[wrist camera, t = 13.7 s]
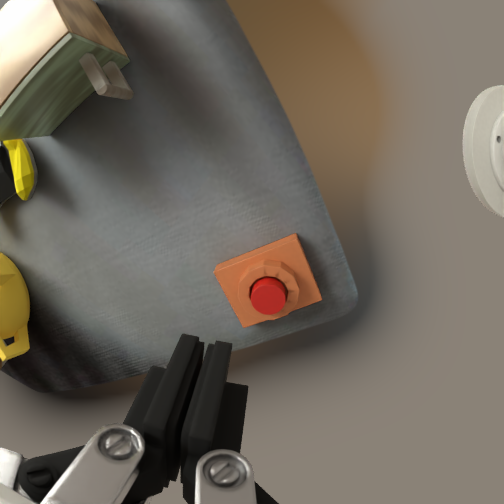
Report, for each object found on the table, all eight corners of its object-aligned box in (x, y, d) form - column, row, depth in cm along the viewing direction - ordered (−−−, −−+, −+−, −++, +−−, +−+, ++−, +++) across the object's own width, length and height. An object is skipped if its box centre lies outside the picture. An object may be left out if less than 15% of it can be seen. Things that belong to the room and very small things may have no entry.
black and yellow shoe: (55, 187, 36) (34, 122, 33) (29, 196, 31) (8, 123, 28) (-2, 225, 39) (-20, 169, 36) (-25, 236, 33) (-44, 175, 30)
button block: (296, 232, 36) (298, 244, 32) (320, 291, 38) (324, 307, 35) (216, 264, 38) (210, 278, 34) (245, 318, 40) (242, 336, 37)
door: (150, 93, 31) (95, 77, 20) (65, 166, 35) (-1, 183, 23) (127, 56, 30) (69, 31, 18) (46, 131, 33) (-21, 138, 22)
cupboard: (128, 56, 30) (68, 30, 18) (46, 130, 33) (-22, 137, 22) (95, 2, 27) (38, -30, 15) (20, 73, 31) (-43, 68, 19)
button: (277, 272, 34) (277, 279, 32) (290, 300, 35) (290, 308, 33) (246, 284, 35) (245, 291, 33) (260, 311, 36) (259, 319, 34)
